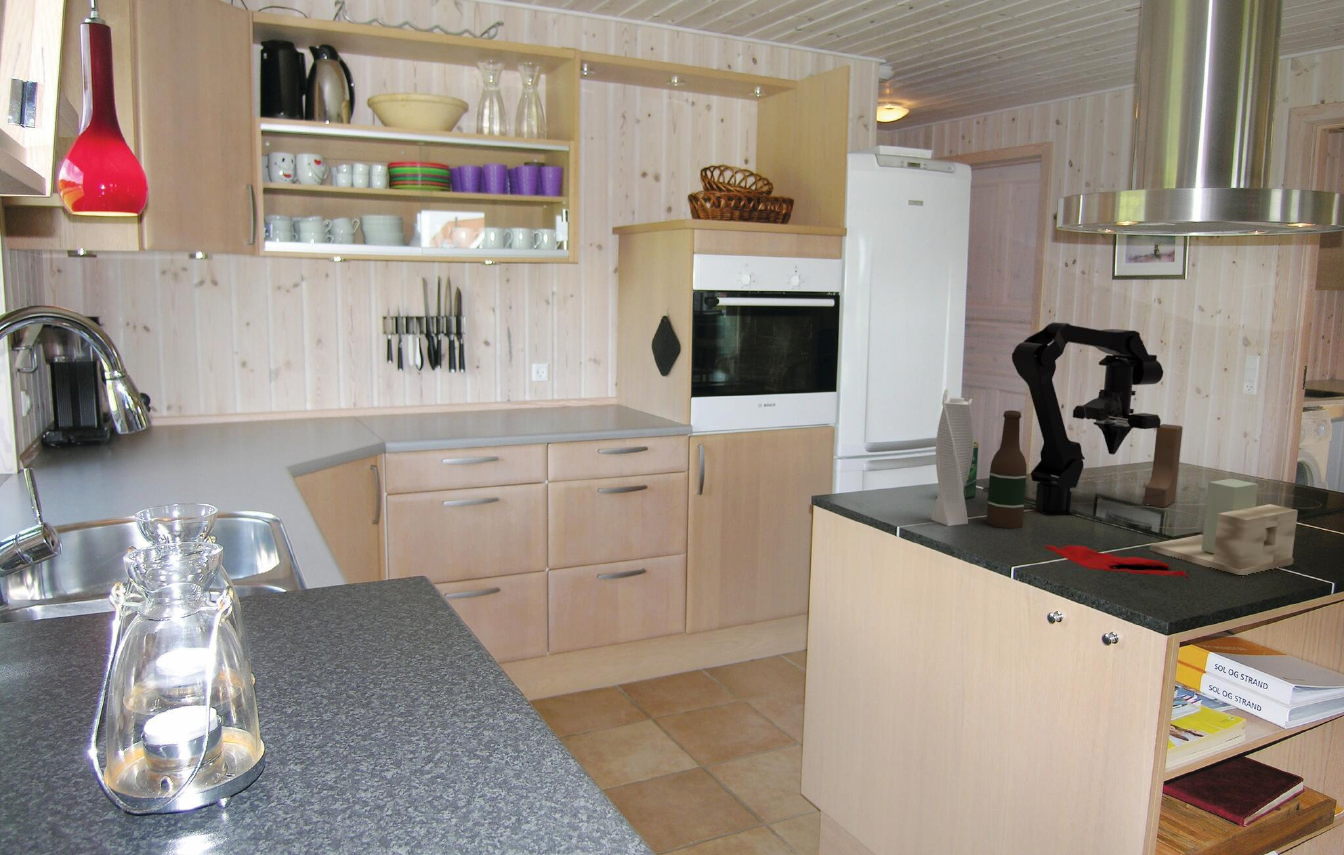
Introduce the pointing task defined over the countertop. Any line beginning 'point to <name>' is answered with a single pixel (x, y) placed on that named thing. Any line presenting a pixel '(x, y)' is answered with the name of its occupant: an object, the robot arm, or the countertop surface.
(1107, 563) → the cloth
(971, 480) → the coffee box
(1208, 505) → the block
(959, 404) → the skyscraper
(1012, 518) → the beer bottle
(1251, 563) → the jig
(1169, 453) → the wooden block
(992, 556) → the countertop surface
